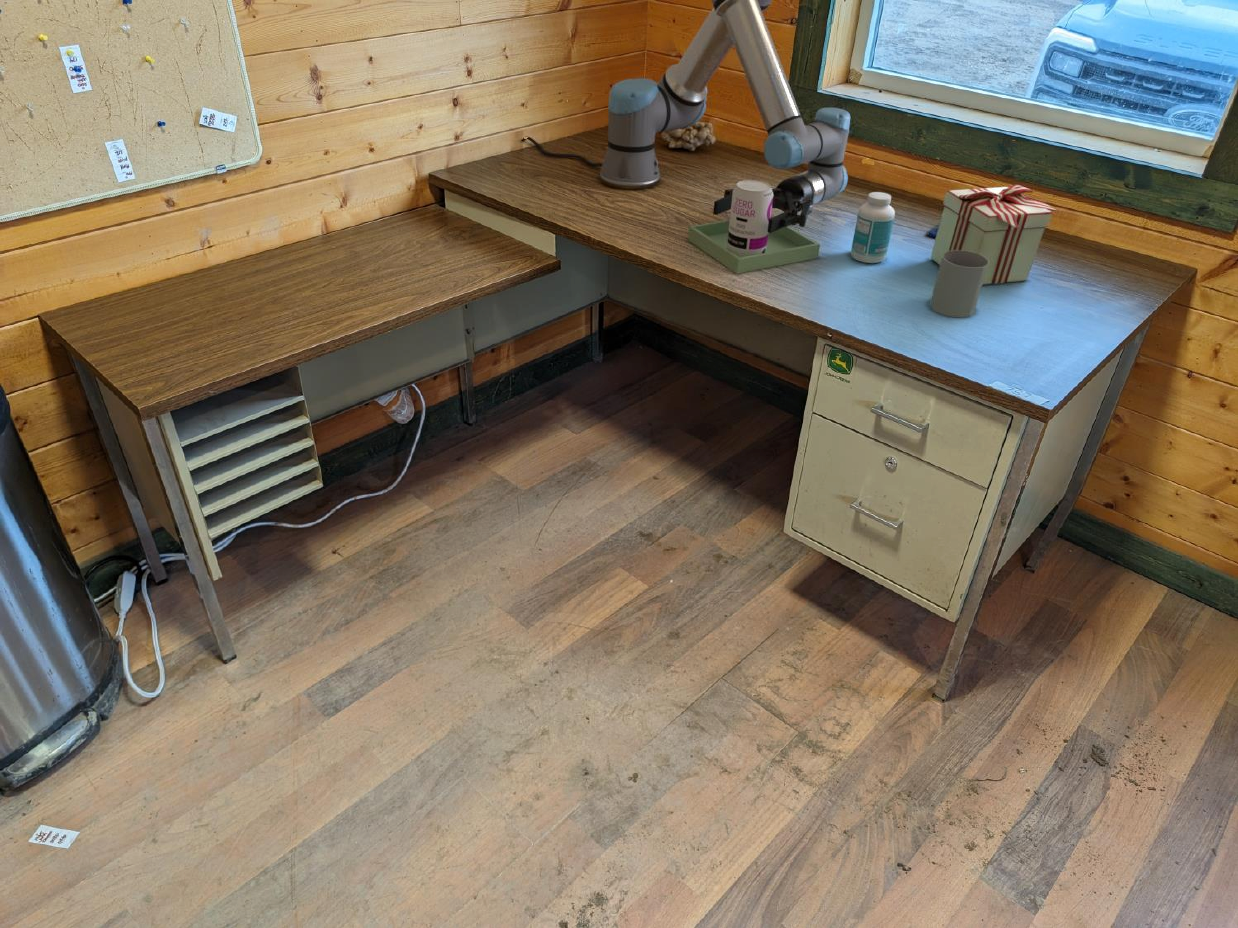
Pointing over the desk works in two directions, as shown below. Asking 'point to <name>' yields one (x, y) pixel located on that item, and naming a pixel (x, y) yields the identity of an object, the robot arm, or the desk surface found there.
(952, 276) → the cup
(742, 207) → the supplement can
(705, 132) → the mineral formation
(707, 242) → the tray
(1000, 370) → the desk surface
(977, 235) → the gift box
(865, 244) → the pill bottle
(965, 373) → the desk surface
